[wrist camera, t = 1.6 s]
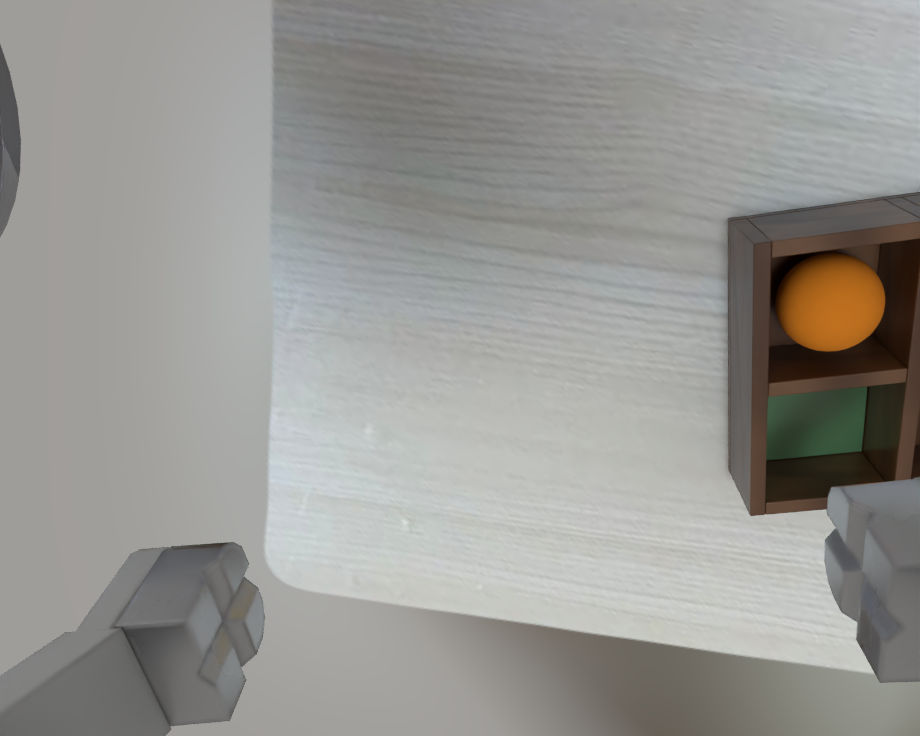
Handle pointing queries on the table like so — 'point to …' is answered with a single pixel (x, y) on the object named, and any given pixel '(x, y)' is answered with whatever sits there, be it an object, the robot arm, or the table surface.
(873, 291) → the clementine
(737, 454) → the divided tray
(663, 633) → the table surface
